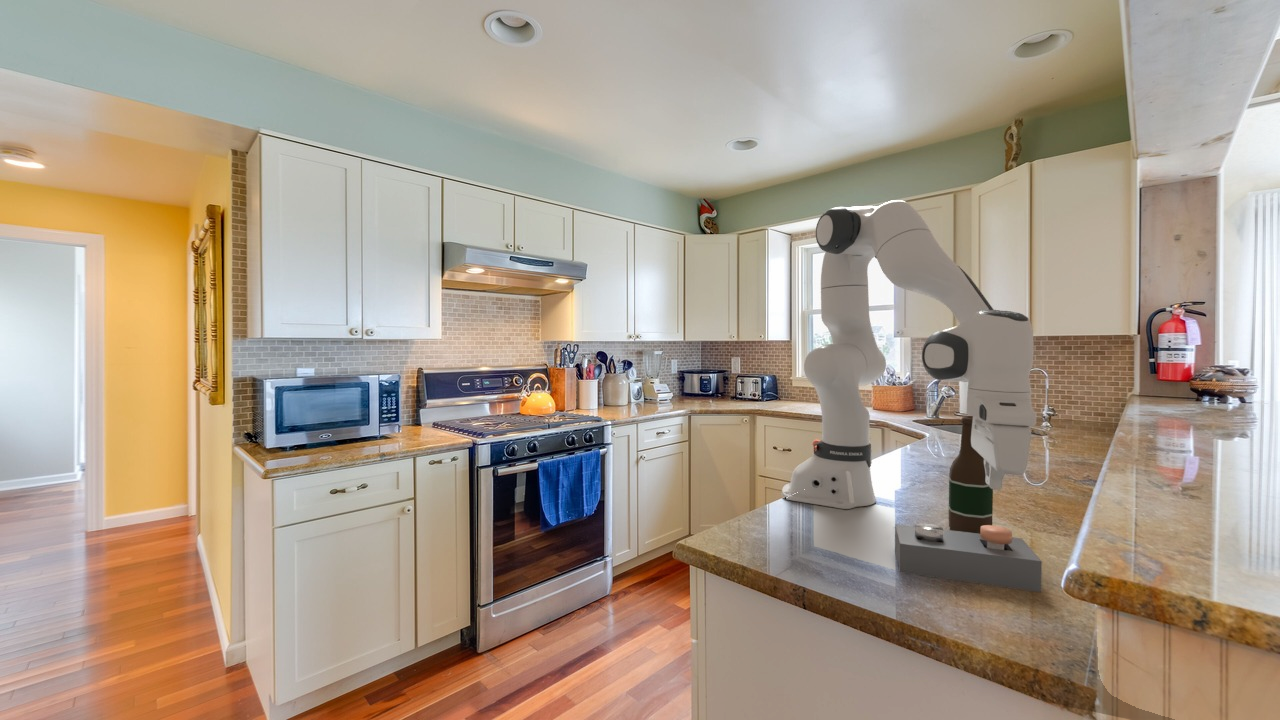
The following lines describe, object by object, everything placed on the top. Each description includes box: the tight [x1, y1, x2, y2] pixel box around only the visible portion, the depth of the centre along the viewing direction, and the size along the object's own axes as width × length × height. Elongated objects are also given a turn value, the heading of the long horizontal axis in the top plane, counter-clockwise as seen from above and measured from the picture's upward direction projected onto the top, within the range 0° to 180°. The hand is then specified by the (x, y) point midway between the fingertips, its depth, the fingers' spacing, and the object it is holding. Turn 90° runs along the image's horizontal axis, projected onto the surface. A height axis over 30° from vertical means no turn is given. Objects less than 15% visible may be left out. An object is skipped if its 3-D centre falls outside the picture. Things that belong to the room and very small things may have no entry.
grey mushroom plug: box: [914, 522, 944, 542], centre depth 92 cm, size 4×4×6 cm
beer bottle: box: [948, 415, 994, 534], centre depth 106 cm, size 8×8×24 cm
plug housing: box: [894, 523, 1043, 593], centre depth 90 cm, size 20×10×5 cm, turn 68°
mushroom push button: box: [980, 524, 1013, 550], centre depth 88 cm, size 4×4×6 cm
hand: (993, 487), depth 88 cm, fingers closed
